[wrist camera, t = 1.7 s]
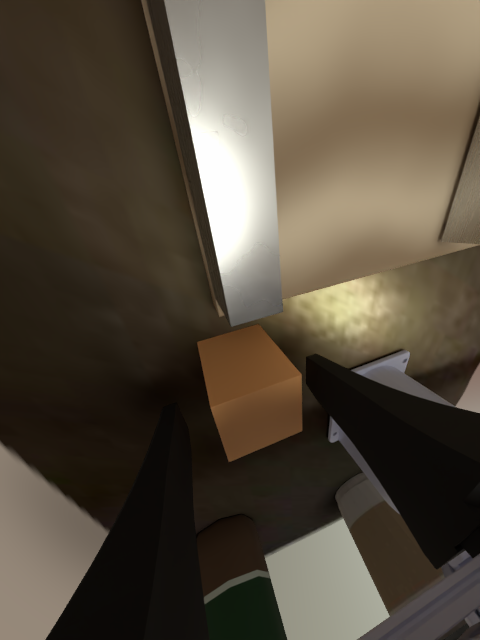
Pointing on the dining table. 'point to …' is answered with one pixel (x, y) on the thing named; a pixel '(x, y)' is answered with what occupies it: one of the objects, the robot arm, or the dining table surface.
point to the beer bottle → (237, 583)
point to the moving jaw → (466, 200)
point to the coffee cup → (388, 548)
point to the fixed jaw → (226, 143)
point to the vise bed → (364, 132)
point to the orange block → (251, 390)
